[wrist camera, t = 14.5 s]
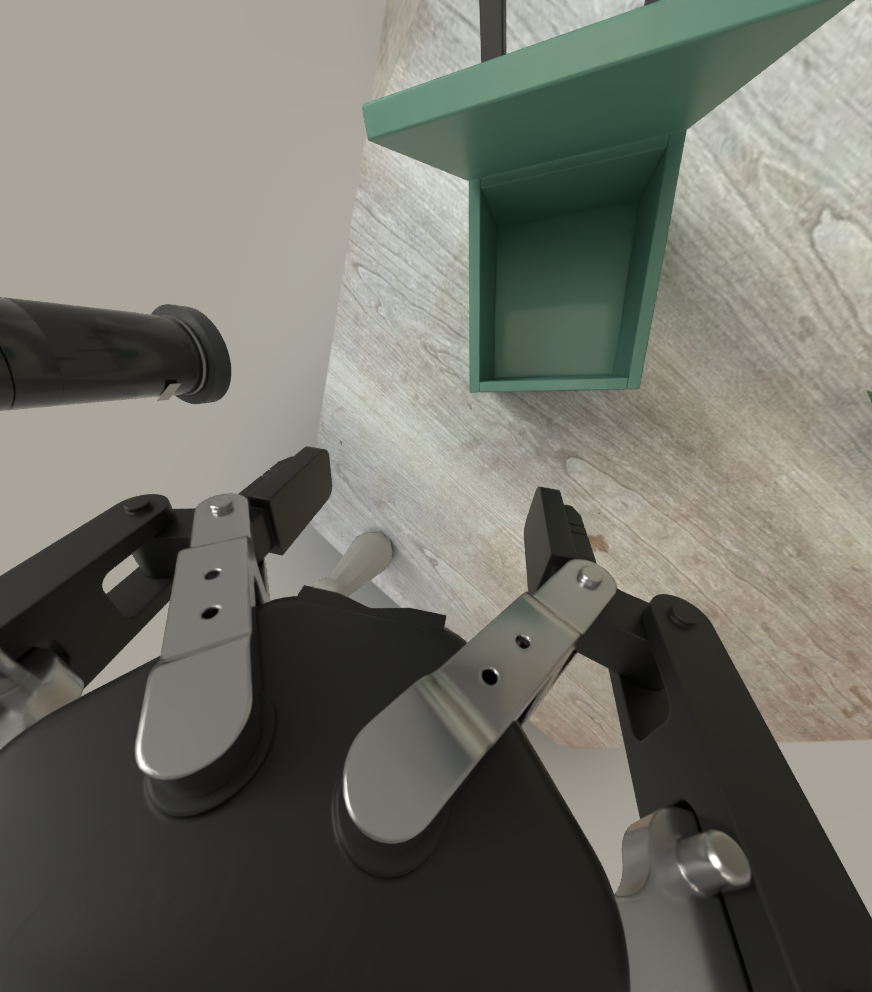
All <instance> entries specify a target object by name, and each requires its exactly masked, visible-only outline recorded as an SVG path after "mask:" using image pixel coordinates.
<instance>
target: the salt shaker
mask: <svg viewBox="0 0 872 992" xmlns="http://www.w3.org/2000/svg"><path fill="white" fill-rule="evenodd" d="M391 556H392V547H391V540H389V539H388V538H387V537H386V536H385V535H383V534H382V533H381V532H378V533H365V534H362V535H359V536H357V537H356V538H355V540H354V541H353V542H352V544H351V545H350V547H349V548H348V550H347V551H346V553H345V554H344V556H343V557H342V559H341V560H340V561H339V563H338V564H337V566H336V567H335V569H334V570H333V571H332V573H331V574H330V576H329V577H328V578H324V579H321V580H319V581H317V582H316V583H315V584H314V585H313V586H312V587H314V588H319V589H324V590H329V591H333V592H338V593H340V594H342V595H344V596H346V597H348V598H349V595H351V594H352V593H354V592H355V591H356V590H357V589H359V588H360V587H362V586H363V585H364V584H366V583H367V582H369V581H370V580H371V579H373V578H374V577H375V576H377V575H378V574H379V573H381V572H382V571H384V570H385V569H386V567H387V566H388V565H389V564H390V562H391Z"/></svg>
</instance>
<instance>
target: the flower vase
mask: <svg viewBox="0 0 872 992" xmlns="http://www.w3.org/2000/svg"><path fill="white" fill-rule="evenodd" d="M867 393H868V395H869V397H870V399H871V402H872V392H871V391H867Z"/></svg>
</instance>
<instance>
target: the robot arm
mask: <svg viewBox="0 0 872 992" xmlns="http://www.w3.org/2000/svg"><path fill="white" fill-rule="evenodd" d="M208 374H209V368H208V360H207V356H206V352H205V350H204V347H203V345H202V343H201V341H200V339H199V337H198V336H197V334H196V333H195V331H194V330H193V329H192V328H191V327H190V326H189V325H188V324H187V323H186V322H185V321H183V320H181V319H180V318H177V317H174V316H167V315H162V316H158V315H150V314H142V313H135V312H126V311H116V310H108V309H100V308H91V307H81V306H73V305H65V304H55V303H48V302H38V301H30V300H21V299H12V298H2V297H0V411H4V410H16V409H27V408H37V407H49V406H58V405H69V404H81V403H92V402H103V401H114V400H126V399H136V398H147V397H159V396H160V398H159V399H158V401H160V400H168V399H169V398H170V397H171V396H172V395H182V394H184V395H192V394H197V393H199V392H201V391H202V390H203V389H204V387H205V386H206V383H207V380H208ZM331 491H332V478H331V469H330V459H329V453H328V451H327V450H325V449H320V448H314V447H305V448H303V449H302V450H301V451H300V452H298V453H297V454H296V455H295V456H294V457H289V458H287V459H284V460H282V461H279V462H278V463H277V464H275V465H274V466H273V467H271V468H270V470H268V471H266V472H265V473H264V474H263V476H260V477H259V478H258V479H256V480H255V481H254V482H253V483H251V484H250V485H249V486H248V487H247V488H245V489H244V490H243V491H241V492H240V493H239V494H231V493H230V494H221V495H216V496H213V497H211V498H208V499H206V500H204V501H203V502H201V503H200V504H199V505H198V506H197V507H196V508H194V509H172V506H171V504H170V502H169V500H168V498H166V497H165V496H163V495H158V494H148V495H140V496H136V497H132V498H130V499H127V500H124V501H122V502H120V503H118V504H116V505H115V506H113V507H112V508H110V509H108V510H107V511H105V512H103V513H102V514H100V515H98V516H97V517H95V518H94V519H92V520H90V521H89V522H87V523H86V524H84V525H82V526H81V527H79V528H77V529H76V530H74V531H73V532H71V533H69V534H68V535H66V536H64V537H63V538H61V539H60V540H58V541H56V542H55V543H53V544H51V545H50V546H48V547H47V548H45V549H43V550H42V551H40V552H39V553H37V554H35V555H34V556H33V557H30V558H29V559H27V560H26V561H24V562H22V563H21V564H19V565H17V566H16V567H14V568H13V569H11V570H10V571H8V572H6V573H5V574H3V575H1V576H0V992H872V918H871V916H870V915H869V912H868V911H867V909H866V907H865V905H864V903H863V901H862V900H861V898H860V896H859V894H858V892H857V890H856V888H855V887H854V885H853V883H852V881H851V879H850V877H849V876H848V874H847V872H846V870H845V868H844V866H843V864H842V863H841V861H840V859H839V857H838V855H837V853H836V852H835V850H834V848H833V846H832V844H831V842H830V841H829V839H828V837H827V835H826V833H825V831H824V829H823V828H822V826H821V824H820V822H819V820H818V818H817V817H816V815H815V813H814V811H813V809H812V808H811V806H810V804H809V802H808V800H807V798H806V796H805V795H804V793H803V791H802V789H801V787H800V785H799V783H798V782H797V780H796V778H795V776H794V774H793V773H792V771H791V769H790V767H789V765H788V763H787V761H786V760H785V758H784V756H783V754H782V752H781V750H780V749H779V747H778V745H777V743H776V741H775V739H774V737H773V736H772V734H771V732H770V730H769V728H768V726H767V725H766V723H765V721H764V719H763V717H762V715H761V714H760V712H759V710H758V708H757V706H756V704H755V703H754V701H753V699H752V697H751V695H750V693H749V691H748V690H747V688H746V686H745V684H744V682H743V680H742V679H741V677H740V675H739V673H738V671H737V669H736V668H735V666H734V664H733V662H732V660H731V658H730V657H729V655H728V653H727V651H726V649H725V647H724V645H723V644H722V642H721V640H720V638H719V636H718V634H717V633H716V631H715V629H714V627H713V625H712V624H711V622H710V620H709V619H708V618H707V617H706V616H705V615H704V614H703V613H702V612H701V611H700V610H699V609H698V608H697V607H695V606H694V605H692V604H691V603H689V602H687V601H685V600H683V599H681V598H679V597H676V596H673V595H667V594H660V595H657V596H655V597H653V599H652V600H651V601H650V603H648V602H646V601H643V600H641V599H639V598H636V597H634V596H632V595H629V594H627V593H625V592H623V591H621V590H619V589H617V585H616V582H615V580H614V578H613V577H612V575H611V574H610V573H609V572H608V571H607V570H605V569H604V568H603V567H601V566H599V565H598V564H597V563H596V560H595V557H594V554H593V551H592V548H591V545H590V542H589V539H588V536H587V533H586V530H585V528H584V524H583V521H582V518H581V515H580V514H579V513H578V512H577V511H576V510H575V509H574V508H573V507H572V506H569V505H564V504H563V500H562V496H561V493H560V490H556V489H550V488H544V487H538V488H537V489H536V491H535V494H534V498H533V501H532V504H531V507H530V510H529V513H528V516H527V519H526V523H525V528H524V544H525V557H526V569H527V582H528V592H525V593H523V594H522V595H521V596H519V597H518V598H517V599H516V600H515V601H514V602H513V603H512V604H511V605H509V606H508V607H507V608H506V609H505V610H504V611H503V612H502V613H500V614H499V615H498V616H497V617H496V618H495V619H494V620H493V621H491V622H490V623H489V624H488V625H487V626H486V627H485V628H484V629H483V630H481V631H480V632H479V633H478V634H477V635H476V636H475V637H474V638H472V639H471V640H470V641H469V642H468V643H467V642H466V641H465V640H464V639H463V638H461V637H460V636H459V635H458V634H456V633H454V632H453V631H451V630H449V629H447V628H445V627H444V626H445V620H446V615H441V614H437V613H432V612H427V611H423V610H418V609H413V608H369V607H366V606H364V605H362V604H360V603H358V602H356V601H354V600H352V599H350V598H348V597H346V596H344V595H342V594H340V593H338V592H333V591H329V590H324V589H319V588H314V587H310V586H305V585H304V586H303V588H302V590H301V591H300V592H299V594H298V596H292V597H284V598H280V599H275V600H272V601H270V594H269V585H268V577H267V568H266V562H265V559H264V557H265V556H266V555H267V554H268V553H274V554H278V555H283V554H284V553H285V552H286V551H287V549H288V548H289V547H290V546H291V545H292V543H293V542H294V541H295V540H296V538H297V537H298V536H299V535H300V533H301V532H302V531H303V530H304V529H305V527H306V526H307V525H308V524H309V522H310V521H311V520H312V519H313V517H314V516H315V515H316V514H317V512H318V511H319V510H320V509H321V508H322V506H323V505H324V504H325V503H326V501H327V500H328V499H329V497H330V495H331ZM131 554H132V555H133V557H134V558H135V560H136V562H137V563H138V565H139V567H138V568H137V569H136V570H135V571H133V572H132V573H131V574H130V575H129V576H127V577H126V578H125V579H124V580H123V581H121V582H120V583H119V584H118V585H117V586H115V587H114V588H113V589H112V590H111V591H110V592H108V593H107V594H106V593H105V592H104V591H103V588H102V583H103V580H104V578H105V576H106V575H107V573H108V572H109V571H111V570H112V569H113V568H114V567H116V566H117V565H118V564H119V563H121V562H122V561H123V560H124V559H126V558H127V557H128V556H130V555H131ZM169 601H170V604H169V609H168V615H167V621H166V627H165V633H164V639H163V645H162V651H161V656H159V657H157V658H155V659H153V660H151V661H149V662H147V663H145V664H143V665H141V666H139V667H138V668H136V669H134V670H132V671H130V672H128V673H126V674H124V675H122V676H120V677H118V678H116V679H114V680H113V681H110V682H109V683H107V684H105V685H103V686H101V687H99V688H97V689H95V690H93V691H91V692H89V693H87V694H85V695H84V696H81V695H82V692H83V689H84V688H85V687H86V686H87V685H88V684H89V683H90V682H91V681H92V680H93V679H94V678H95V677H96V676H97V675H98V674H99V673H100V672H101V671H102V670H103V669H104V668H105V667H106V666H107V665H108V663H110V661H111V660H112V659H113V658H114V657H115V656H116V655H117V654H118V653H119V652H120V651H121V650H122V649H123V648H124V647H125V646H126V645H127V644H128V643H129V642H130V641H131V640H132V639H133V637H135V636H136V635H137V634H138V633H139V632H140V631H141V630H142V628H143V627H144V626H145V625H146V624H147V623H148V622H149V621H150V620H151V619H152V618H153V617H154V616H155V615H156V614H157V613H158V612H159V611H160V610H161V609H162V608H163V607H164V605H166V604H167V603H168V602H169ZM577 653H580V654H582V655H584V656H586V657H588V658H590V659H591V660H593V661H595V662H597V663H599V664H601V665H603V666H605V667H607V668H608V669H609V673H610V678H611V683H612V688H613V692H614V697H615V702H616V707H617V711H618V716H619V721H620V726H621V730H622V735H623V740H624V745H625V749H626V754H627V759H628V764H629V768H630V773H631V778H632V782H633V787H634V792H635V797H636V802H637V806H638V811H639V816H640V820H638V821H637V822H635V823H633V824H631V825H630V826H629V827H628V828H627V830H626V832H625V834H624V837H623V842H622V861H623V871H622V879H621V883H620V886H619V888H618V890H617V892H616V893H615V894H614V893H613V891H612V888H611V885H610V883H609V880H608V878H607V875H606V873H605V871H604V869H603V866H602V865H601V863H600V861H599V859H598V857H597V855H596V853H595V851H594V850H593V848H592V846H591V845H590V843H589V841H588V839H587V838H586V836H585V834H584V833H583V831H582V829H581V828H580V826H579V824H578V822H577V821H576V819H575V817H574V816H573V814H572V812H571V811H570V809H569V807H568V805H567V804H566V802H565V800H564V799H563V797H562V795H561V794H560V792H559V791H558V788H557V787H556V785H555V783H554V782H553V780H552V778H551V777H550V775H549V773H548V771H547V770H546V768H545V766H544V765H543V763H542V761H541V760H540V758H539V756H538V755H537V753H536V751H535V750H534V748H533V746H532V744H531V743H530V741H529V740H528V738H527V736H526V734H525V732H524V731H523V729H522V728H523V726H524V725H525V724H526V723H527V721H528V720H529V719H530V717H531V716H532V714H533V713H534V712H535V710H536V709H537V707H538V706H539V704H540V703H541V701H542V700H543V699H544V697H545V696H546V694H547V693H548V692H549V690H550V689H551V688H552V686H553V685H554V684H555V682H556V681H557V680H558V678H559V677H560V676H561V674H562V673H563V672H564V670H565V669H566V668H567V666H568V665H569V664H570V662H571V661H572V660H573V658H574V657H575V656H576V654H577Z"/></svg>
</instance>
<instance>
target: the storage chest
mask: <svg viewBox="0 0 872 992" xmlns="http://www.w3.org/2000/svg"><path fill="white" fill-rule="evenodd" d="M686 131H687V129H686V130H682V131H678V132H673V133H669V134H665V135H661V136H656V137H652V138H648V139H644V140H639V141H635V142H631V143H627V144H622V145H618V146H614V147H610V148H605V149H601V150H597V151H593V152H588V153H584V154H580V155H576V156H571V157H567V158H563V159H559V160H554V161H550V162H546V163H542V164H537V165H533V166H529V167H525V168H520V169H516V170H512V171H508V172H503V173H499V174H495V175H491V176H486V177H482V178H478V179H474V180H469V338H470V393H473V392H521V391H570V390H619V389H639V388H640V383H641V377H642V372H643V366H644V361H645V355H646V350H647V344H648V339H649V333H650V328H651V322H652V317H653V312H654V306H655V301H656V295H657V290H658V284H659V279H660V273H661V268H662V262H663V257H664V251H665V246H666V240H667V235H668V229H669V224H670V218H671V213H672V207H673V202H674V196H675V191H676V185H677V180H678V174H679V169H680V163H681V158H682V152H683V147H684V142H685V136H686Z"/></svg>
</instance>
